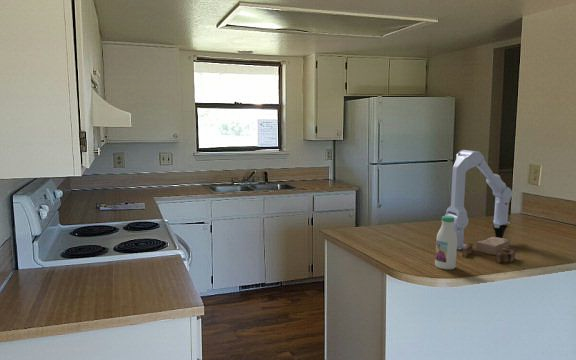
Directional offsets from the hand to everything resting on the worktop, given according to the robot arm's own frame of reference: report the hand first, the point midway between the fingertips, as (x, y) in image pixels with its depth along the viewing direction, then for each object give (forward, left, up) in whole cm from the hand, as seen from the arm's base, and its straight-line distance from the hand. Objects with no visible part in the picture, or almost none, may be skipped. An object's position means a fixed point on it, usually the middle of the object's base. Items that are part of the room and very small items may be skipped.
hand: (499, 240), depth 208 cm
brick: (0, -13, -2) cm, 13 cm away
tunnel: (+2, -27, -1) cm, 27 cm away
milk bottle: (-8, -50, -2) cm, 51 cm away
